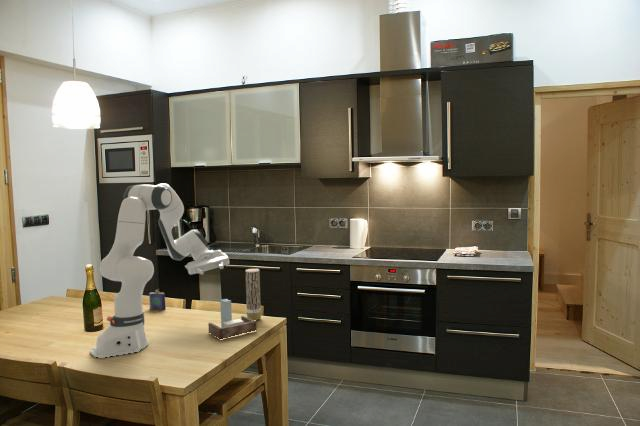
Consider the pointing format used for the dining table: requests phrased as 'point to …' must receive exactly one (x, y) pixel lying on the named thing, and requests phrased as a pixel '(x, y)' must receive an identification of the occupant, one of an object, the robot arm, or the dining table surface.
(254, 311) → the brown patterned cylinder
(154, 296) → the flask
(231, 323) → the offcut upper
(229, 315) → the blue-grey block
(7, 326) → the dining table surface
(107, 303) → the dining table surface
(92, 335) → the dining table surface
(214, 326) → the brown basket
